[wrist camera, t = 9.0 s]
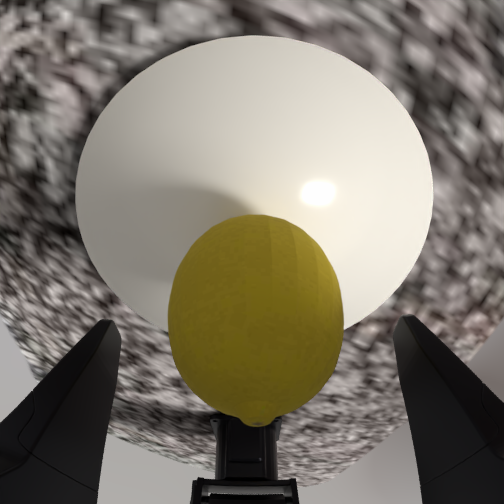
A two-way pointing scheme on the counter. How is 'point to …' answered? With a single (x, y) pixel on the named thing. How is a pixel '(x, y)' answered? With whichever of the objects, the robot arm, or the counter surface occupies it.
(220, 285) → the lemon
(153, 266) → the plate
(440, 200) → the counter surface
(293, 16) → the counter surface
